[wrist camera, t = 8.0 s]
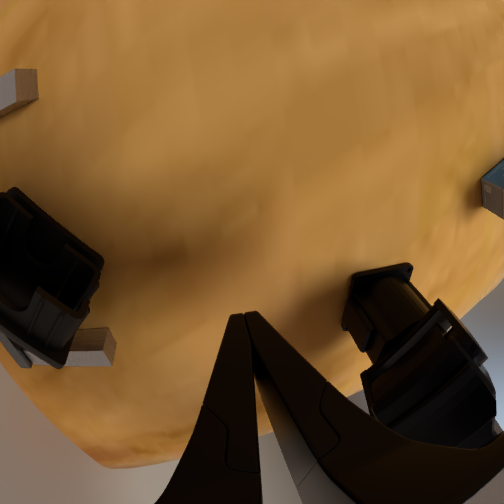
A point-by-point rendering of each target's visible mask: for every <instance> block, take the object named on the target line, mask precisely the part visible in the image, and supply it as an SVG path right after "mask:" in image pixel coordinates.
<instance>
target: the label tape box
mask: <svg viewBox="0 0 504 504" xmlns="http://www.w3.org/2000/svg"><path fill="white" fill-rule="evenodd" d="M481 183H482V198H483V207H484V208H486V209H488V210H489V211H491V212H492V213H494V214H496V215H497V216H499V217H500V218H502V219H504V160H503V161H501V162H500V163H499V164H498V165H497V166H496V167H495V168H493V169H492V170H491V171H490V172H489V173H488V174H486V175H485V176H484V177H483V178H482V179H481Z"/></svg>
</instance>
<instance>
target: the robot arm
mask: <svg viewBox="0 0 504 504" xmlns="http://www.w3.org/2000/svg"><path fill="white" fill-rule="evenodd" d="M412 271H413V266H412V265H411V264H410V263H406V264H401V265H397V266H392V267H387V268H382V269H377V270H372V271H367V272H362V273H357V274H355V275H354V276H353V277H352V280H351V285H350V290H349V295H348V298H347V301H346V305H345V309H344V314H343V318H342V324H341V327H342V329H343V331H349V332H350V334H351V336H352V338H353V339H354V341H355V343H356V345H357V347H358V348H359V350H360V351H361V352H362V353H363V352H366V353H367V355H368V357H369V358H370V360H371V362H372V364H373V365H372V366H371V367H370V368H368V369H367V370H364V371H363V372H362V373H361V374H360V377H361V380H362V385H363V389H364V393H365V397H366V401H367V405H368V409H369V413H370V415H369V414H367V413H366V412H364V411H363V410H362V409H360V408H359V407H358V406H356V405H355V404H354V403H352V402H351V401H349V400H348V399H347V398H346V397H345V396H344V395H343V394H342V393H340V392H339V391H338V390H337V389H336V388H335V387H334V386H333V385H332V384H331V383H330V382H328V381H327V380H326V379H325V378H324V377H323V376H322V375H321V374H320V373H319V372H318V371H317V370H316V369H315V368H314V367H313V366H312V365H311V364H310V363H309V362H308V361H307V360H306V359H305V358H304V357H303V356H302V355H301V354H300V353H299V352H298V351H297V350H295V349H294V348H293V347H292V346H291V345H290V344H289V343H288V342H287V341H286V340H285V339H284V338H283V337H282V336H281V335H280V334H279V333H278V332H277V331H276V330H275V329H274V328H273V327H272V326H271V325H270V323H269V322H268V321H267V320H266V319H265V318H264V317H263V316H262V315H261V314H260V313H259V312H257V311H251V312H246V313H244V314H243V313H238V314H232V315H230V317H229V320H228V323H227V326H226V329H225V333H224V336H223V339H222V342H221V346H220V349H219V352H218V355H217V359H216V362H215V365H214V368H213V371H212V375H211V378H210V381H209V384H208V388H207V391H206V394H205V397H204V401H203V405H202V407H201V410H200V413H199V416H198V419H197V422H196V425H195V428H194V431H193V433H192V435H191V438H190V440H189V442H188V445H187V447H186V449H185V451H184V453H183V455H182V457H181V459H180V461H179V464H178V466H177V467H176V469H175V472H174V473H173V475H172V477H171V479H170V481H169V483H168V485H167V487H166V489H165V490H164V492H163V493H162V495H161V496H160V497H159V499H158V500H157V501H156V502H155V503H154V504H263V497H262V484H261V470H260V456H259V443H258V427H257V413H256V398H255V383H254V378H255V381H256V384H257V387H258V390H259V393H260V395H261V398H262V401H263V404H264V406H265V409H266V412H267V414H268V417H269V420H270V422H271V425H272V428H273V430H274V433H275V436H276V438H277V441H278V443H279V446H280V448H281V451H282V454H283V456H284V459H285V461H286V464H287V466H288V469H289V471H290V474H291V476H292V479H293V481H294V483H295V486H296V487H297V491H298V493H299V496H300V498H301V500H302V503H303V504H504V431H503V430H502V429H501V427H500V426H499V424H498V423H497V421H496V420H495V416H496V399H495V398H496V396H495V395H496V392H495V388H494V386H493V383H492V381H491V378H490V376H489V374H488V372H487V370H486V369H485V367H484V366H483V365H482V364H483V363H484V362H485V361H486V360H487V359H488V357H487V355H486V354H485V352H484V351H483V350H482V348H481V347H480V345H479V344H478V343H477V341H476V340H475V338H474V337H473V336H472V334H471V333H470V332H469V331H468V329H467V328H466V327H465V326H464V324H463V323H462V322H461V321H460V320H459V319H458V317H457V316H456V315H455V314H454V313H453V312H452V311H451V310H450V309H449V308H448V307H447V306H446V305H445V304H444V303H443V302H442V301H441V300H440V299H439V298H438V299H437V300H436V301H435V302H434V305H433V306H431V305H430V304H429V302H428V301H427V300H426V299H425V298H424V297H423V296H422V294H421V293H420V292H419V291H418V290H417V289H416V288H415V287H414V286H413V284H412V283H411V282H410V277H411V274H412ZM451 326H452V328H451V329H450V330H449V331H448V332H447V330H448V329H449V328H450V327H451ZM326 381H327V382H326Z"/></svg>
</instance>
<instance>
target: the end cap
mask: <svg viewBox="0 0 504 504" xmlns="http://www.w3.org/2000/svg"><path fill="white" fill-rule="evenodd" d="M103 265H104V260H103V258H102V257H101V255H99V254H98V253H97V252H95V251H94V250H93V249H91V248H90V247H88V246H87V245H86V244H85V243H83V242H82V241H81V240H79V239H78V238H77V237H75V236H74V235H73V234H72V233H70V232H69V231H68V230H66V229H65V228H64V227H63V226H61V225H60V224H59V223H58V222H56V221H55V220H54V219H53V218H52V217H50V216H49V215H48V214H47V213H46V212H44V211H43V210H42V209H41V208H40V207H39V206H37V205H36V204H35V203H34V202H33V201H32V200H30V199H29V198H28V197H27V196H26V195H25V194H24V193H23V192H21V191H20V190H19V189H18V188H16V187H13V188H11V189H9V190H8V191H7V193H4V192H1V193H0V332H2V333H3V334H4V335H6V336H7V337H8V338H10V339H11V340H13V341H14V342H15V343H17V344H18V345H20V346H21V347H23V348H24V349H26V350H27V351H29V352H30V353H32V354H33V355H35V356H36V357H38V358H40V359H41V360H43V361H44V362H46V363H48V364H49V365H51V366H53V367H55V368H57V369H61V368H62V367H63V366H64V365H65V364H66V361H67V358H68V354H69V351H70V348H71V345H72V342H73V339H74V336H75V333H76V331H77V329H78V328H79V326H80V325H81V323H82V322H83V321H84V319H85V318H86V316H87V315H88V314H89V312H90V308H89V303H90V301H89V300H90V299H91V297H92V296H93V294H94V293H95V292H96V290H97V289H98V287H99V281H98V280H99V278H100V275H101V272H100V271H101V269H102V267H103Z"/></svg>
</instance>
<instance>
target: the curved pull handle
mask: <svg viewBox="0 0 504 504" xmlns="http://www.w3.org/2000/svg"><path fill="white" fill-rule="evenodd" d="M36 99H38V87H37V69H13V70H11V71H10V72H8V73H6V74H5V75H3V76H1V77H0V117H2V116H4V115H6V114H7V113H9V112H11V111H13V110H15V109H17V108H19V107H21V106H23V105H25V104H28V103H30V102H32V101H34V100H36ZM0 341H1V343H2V344H3V345H4V347H5V348H6V349H7V351H8V352H9V353H10V355H11V356H12V357H13V358H14V360H15V361H16V362H17V363H18V365H19V366H20V367H21V368H31V367H32V364H34V365H49V364H48V363H46V362H44V361H43V360H41V359H40V358H38V357H36V356H35V355H33V354H32V353H30V352H29V351H27V350H26V349H24V348H23V347H21V346H20V345H18V344H17V343H15V342H14V341H13V340H11V339H10V338H8V337H7V336H6V335H4V334H3V333H2V332H0ZM116 344H117V343H116V341H115V340H114V338H113V336H112V334H111V332H110V330H109V328H98V329H80V330H77V331H76V333H75V336H74V339H73V342H72V345H71V348H70V351H69V354H68V358H67V361H66V364H65V365H64V366H113V360H114V355H115V350H116Z"/></svg>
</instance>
